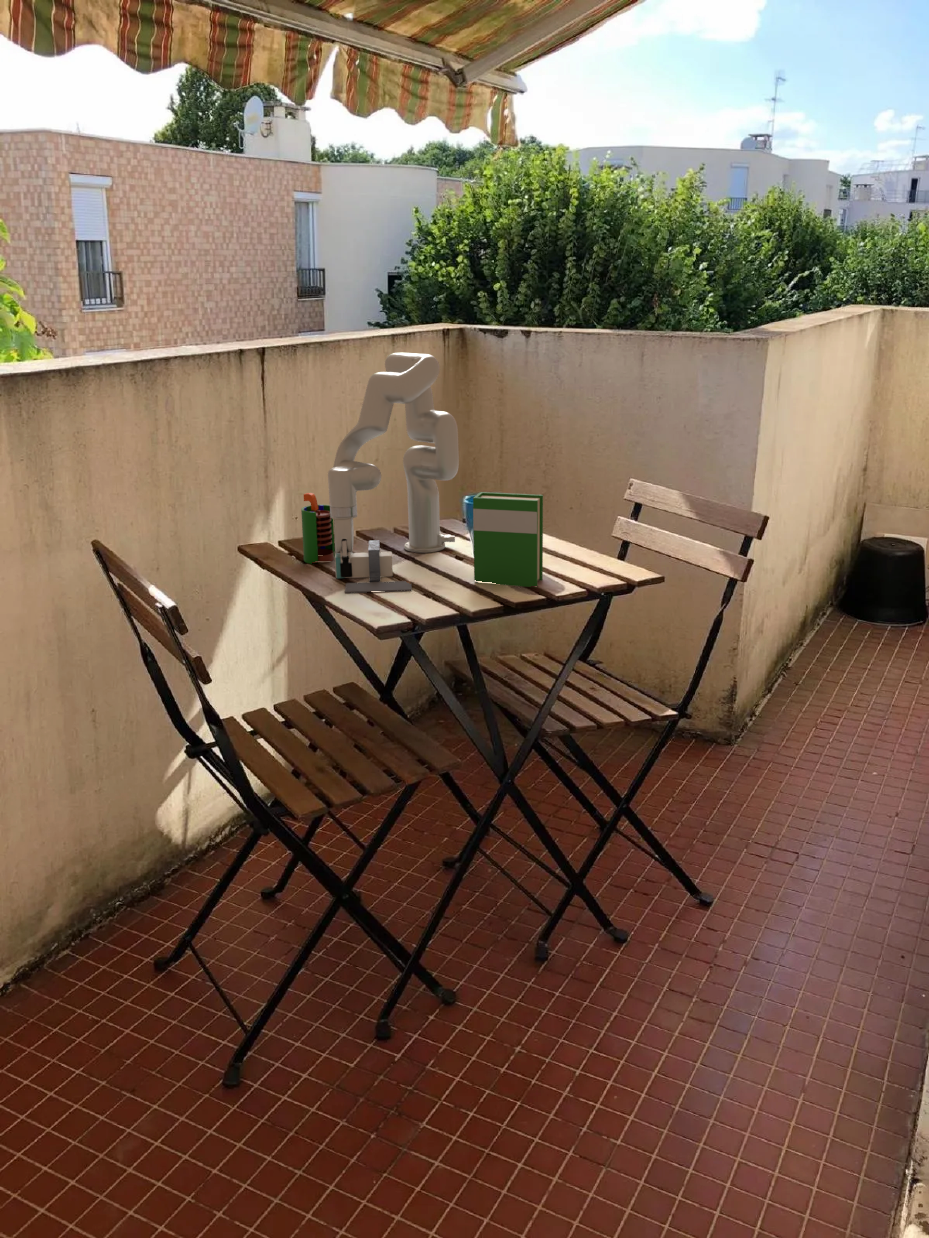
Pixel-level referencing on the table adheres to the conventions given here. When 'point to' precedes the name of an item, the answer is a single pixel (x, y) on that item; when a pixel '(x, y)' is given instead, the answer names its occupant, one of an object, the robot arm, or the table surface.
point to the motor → (317, 531)
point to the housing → (374, 560)
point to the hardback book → (508, 538)
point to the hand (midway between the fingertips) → (346, 573)
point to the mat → (377, 587)
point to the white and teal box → (365, 565)
